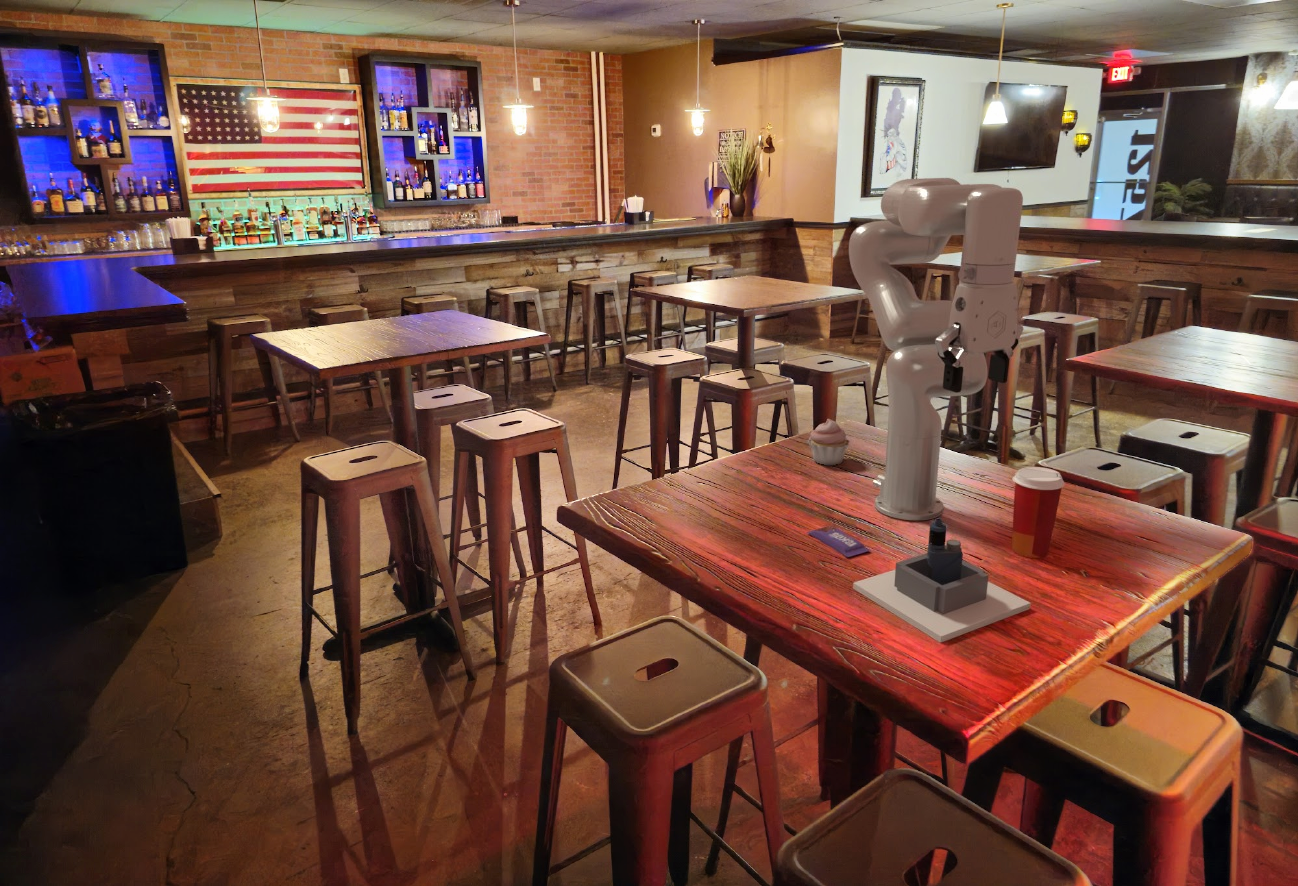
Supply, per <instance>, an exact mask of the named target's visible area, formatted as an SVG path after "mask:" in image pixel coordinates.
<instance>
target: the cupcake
mask: <svg viewBox="0 0 1298 886" xmlns="http://www.w3.org/2000/svg"><path fill="white" fill-rule="evenodd" d="M806 442H807V444H808V445H809V447H810V449H811V453H812V458H813V461H814V462H815V461H816V462H817V463H816V462H815V463H816V464H818V463H820V464H819V465H821V464H824V465H823V466H836V464H838V465H840V464H841V462H842V463H843V461H844V458H845V453H846V451H847V448H848V446H849V444H850V440H849V439H847V434H846V433H845V430H844V429H843V428H841V427H840V425H839V424H838V423H837V422H836V421H834V420H833V419H830V418H827V420H826V422H823V423H820V424H819V425H818V426H817V427H816V428H815V429H814V430H812V432H811V433H810V436H809V439H808V440H807V441H806ZM839 463H840V464H839Z"/></svg>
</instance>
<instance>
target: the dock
mask: <svg viewBox="0 0 1298 886" xmlns="http://www.w3.org/2000/svg"><path fill="white" fill-rule="evenodd" d="M926 556H927V552H926V553H923V554H920V555H917V556H914V557H911V558H907V559H904V560H901V561H898V562H895V568H894V569H893V570H890V571H885V572H883V573H879V574H876V575H874V576H871V577H868V578H865V579H861V580H857V581H854V582H853V583H852V589H853V590H855V591H856V592H858V593H860V594H862V596H864V597H866V598H868V599H869V600H871V601H873V602H874V603H875V604H877V605H879V606H880V607H882V608H884V609H885V610H887V611H889V612H891V613H892V614H893V615H895V616H896V617H898V618H900V619H901V620H903V621H905V623H908V624H909V625H911V626H912V627H914V628H916V629H918V630H919V631H921V632H922V633H924V634H926V636H929V638H930V637H931V638H932V639H934V640H935V641H937V642H938V643H940V644H941V643H943V642H947V641H949V640H952V639H954V638H957V637H959V636H961V635H964V634H967V633H969V632H973V631H976V630H978V629H979V628H980V629H981V628H984V627H985V626H988V625H991V624H994V623H997V622H999V621H1001V620H1004V619H1007V618H1009V617H1012V616H1016V615H1018V614H1020V613H1022V612H1025V611H1028V610H1030V609H1031V602H1030V601H1027V600H1026V599H1023V598H1022V597H1020V596H1018V595H1016V594H1014V593H1012V592H1010V591H1008V590H1006V589H1004V588H1002V587H1000V586H998V585H996V584H994V583H992V582H991V581H989V576H990V575H989V574H987V573H986V570H984V569H982V568H979V567H978V566H976V565H974V564H972V563H970V562H968V561H966V560H963V559H962V568H961V579H960V580H957V581H954V582H951V583H948V584H945V585H940V584H939V583H937V582H935V581H933V580H931V579H929V578H928V577H926V573H927V557H926Z"/></svg>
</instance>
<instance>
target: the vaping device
mask: <svg viewBox="0 0 1298 886" xmlns="http://www.w3.org/2000/svg"><path fill="white" fill-rule="evenodd" d="M946 537H947V524H945V523H943V518H938V517H935V518H934V522H931V523H930V524H929V532H928V545H927V551H926V553H927V556H926V557H927V573H926V577H928V578H929V579H931V580H933V581H935V582H937V583H939V584H940V585H945V584H948V583H951V582H954V581H957V580H960V579H961V568H962V560H963V558H964V557H963V556H964V554H963V550H962V547H961V544H962V543H961V541H960V540H956V539H948V540H946Z"/></svg>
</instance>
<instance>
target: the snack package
mask: <svg viewBox="0 0 1298 886" xmlns="http://www.w3.org/2000/svg"><path fill="white" fill-rule="evenodd" d="M806 533H807V534H808V535H810V536H811V537H813V538H815V539H816V540H818V541H819V540H820V542H822V543H823V544H825V545H826V546H828V547H830V548H831V549H833V550H834V551H836V552H838V553H839V554H842V555H843V556H844V557H846V558H849V557H854V556H856V555H860V554H864V553H867V552H870V551H871V549H870V548H868V547H866V546H865V545H864V544H863V543H862V542H861V541H859V540H858V539H857V538H854V537H853V536H850V535H849V534H848V533H846V532H844V531H843V530H840V529H838V528H836V527H834V526H829V525H828V526H823V527H821V528H817V529H814V530H810V531H807V532H806Z"/></svg>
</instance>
